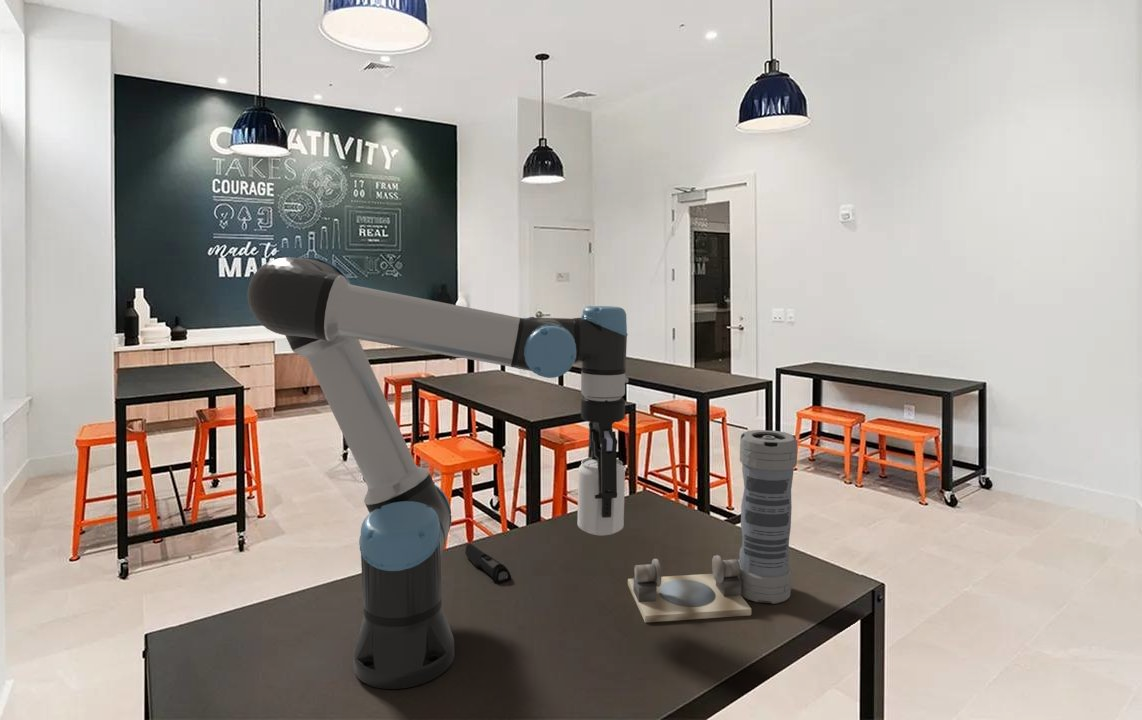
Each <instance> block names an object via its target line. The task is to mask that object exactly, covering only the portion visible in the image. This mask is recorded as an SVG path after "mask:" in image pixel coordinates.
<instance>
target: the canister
mask: <svg viewBox="0 0 1142 720" xmlns="http://www.w3.org/2000/svg"><path fill="white" fill-rule="evenodd" d="M739 441H740V444H739V462H740V463H741V464H742V466H741V467H742V468H741V470H742V479H743V487H744V489H743V495H742V500H741V506H740V507H741V510H740V529H741V535H742V540H741V542H742V543H741V544H742V545H741V547H740V549H739V554H738V555H739V558H738V559H737V560H738V561H739V564H740V576H738V577H739V578H740V580H741V581H742V584H741V596H742V597H743V599H745V600H748V601H752V602H754V603H765V604H771V605H772V604H773V605H774V604H776V605H777V604H780V603H783V602H785V601H787V600H788V599H789V598H790V597H791V592H792V576H793V575H792V574H793V573H792V571H793V570H792V569H791V565H790V564H789V563H790V551H789V549H790V548H789V547H790V534H791V528H792V527H791V526H792V510H793V509H792V506H793V505H792V486H793V478H794V468H795V467H796V466H797V464H798V450H799V449H798V440H797V439H796V436H795V435H794V434H792V433H788V432H785V431H779V430H762V429H761V430H760V429H752V430H747V431H745V432H743V433H742V434H741V435H740V440H739Z"/></svg>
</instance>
